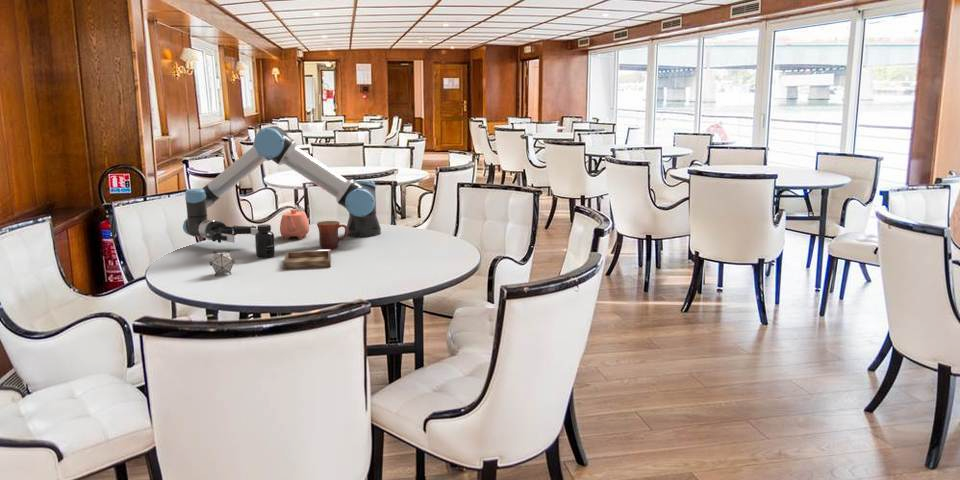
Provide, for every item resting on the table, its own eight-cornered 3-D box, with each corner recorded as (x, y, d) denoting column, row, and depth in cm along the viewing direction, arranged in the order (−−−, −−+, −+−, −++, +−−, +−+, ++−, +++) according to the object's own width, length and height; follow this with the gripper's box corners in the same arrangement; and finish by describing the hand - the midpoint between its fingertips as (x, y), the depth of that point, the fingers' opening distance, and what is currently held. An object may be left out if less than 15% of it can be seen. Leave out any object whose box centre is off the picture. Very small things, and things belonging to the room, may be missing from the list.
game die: (226, 285, 241) (224, 267, 234) (204, 276, 242) (201, 257, 235) (241, 268, 247) (240, 249, 240) (220, 258, 248) (218, 239, 241)
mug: (315, 250, 277) (313, 224, 275) (322, 245, 285) (320, 220, 283) (344, 251, 276) (343, 225, 274) (351, 246, 284) (350, 221, 282)
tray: (330, 256, 266) (330, 250, 266) (330, 267, 251) (330, 260, 250) (286, 259, 263) (286, 252, 262) (284, 269, 248) (283, 262, 247)
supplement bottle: (272, 258, 264) (270, 227, 261) (253, 258, 264) (251, 227, 261) (277, 254, 270) (275, 223, 268) (259, 254, 270) (257, 223, 268)
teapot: (286, 233, 311) (284, 206, 308) (313, 232, 311) (311, 205, 309) (275, 242, 291) (273, 213, 289) (304, 242, 292) (302, 213, 289)
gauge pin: (330, 253, 271) (330, 248, 270) (330, 255, 269) (330, 249, 268) (298, 255, 268) (298, 250, 268) (298, 256, 267) (297, 251, 266)
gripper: (239, 234, 293) (274, 239, 281) (186, 244, 273) (221, 251, 261) (238, 216, 291) (273, 221, 280) (184, 225, 271) (219, 231, 260)
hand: (248, 235), depth 270 cm, fingers open, 13 cm apart
